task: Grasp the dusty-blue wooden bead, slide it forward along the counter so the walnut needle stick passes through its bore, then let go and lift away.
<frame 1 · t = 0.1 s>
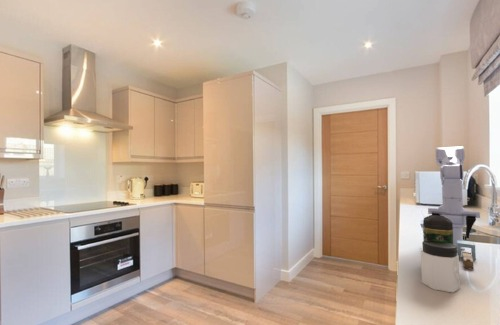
hand: (453, 235, 92), 10 cm above the worktop, tool pointing down, fingers open, 7 cm apart
jar: (440, 286, 75), on the worktop
needle: (467, 263, 92), on the worktop
bead: (466, 256, 100), on the worktop
coffee jar: (439, 274, 84), on the worktop
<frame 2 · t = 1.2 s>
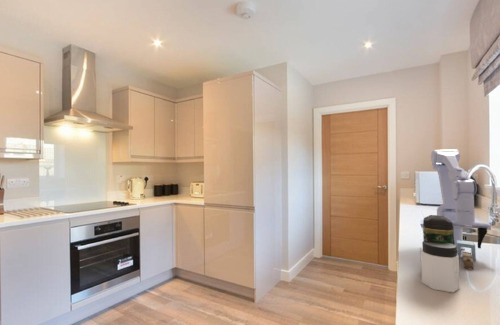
hand: (465, 246, 100), 4 cm above the worktop, tool pointing down, fingers open, 7 cm apart
nothing on the worktop moved.
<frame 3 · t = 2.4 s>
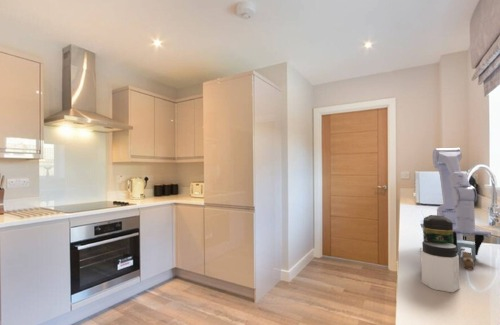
hand: (466, 253, 100), 1 cm above the worktop, tool pointing down, fingers closed on bead, 5 cm apart
bead: (466, 256, 100), on the worktop, touching gripper
everything else where it was.
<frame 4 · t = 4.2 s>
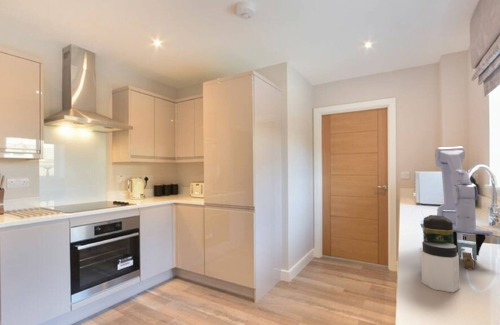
hand: (466, 253, 96), 2 cm above the worktop, tool pointing down, fingers closed on bead, 5 cm apart
bead: (466, 257, 96), point 1 cm above the worktop, touching gripper
everything else where it was.
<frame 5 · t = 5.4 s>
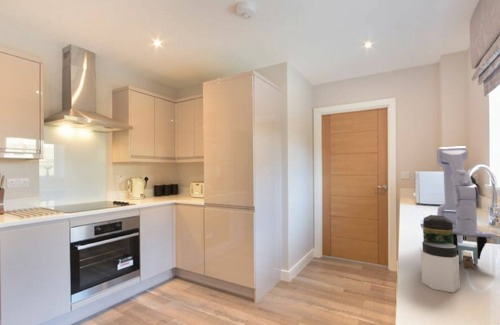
hand: (467, 256, 93), 2 cm above the worktop, tool pointing down, fingers closed on bead, 5 cm apart
bead: (467, 260, 93), point 1 cm above the worktop, touching gripper
everything else where it was.
when the fingers open (2 cm above the worktop, at t = 6.3 s): bead drops 1 cm, resting in needle.
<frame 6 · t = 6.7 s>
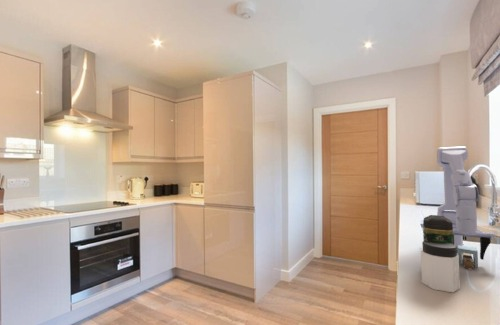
hand: (467, 256, 93), 2 cm above the worktop, tool pointing down, fingers open, 7 cm apart
bead: (467, 263, 93), resting in needle
everything else where it was.
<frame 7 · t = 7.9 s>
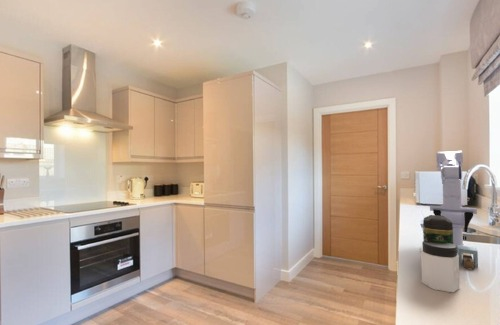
hand: (453, 230, 102), 10 cm above the worktop, tool pointing down, fingers open, 7 cm apart
nothing on the worktop moved.
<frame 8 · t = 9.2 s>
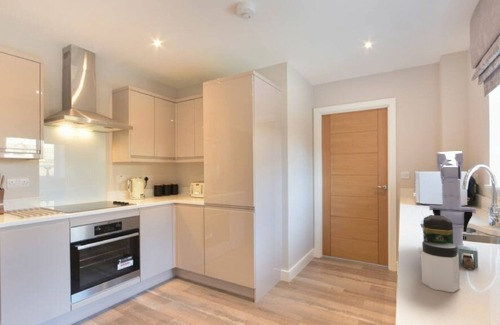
hand: (452, 229, 102), 10 cm above the worktop, tool pointing down, fingers open, 7 cm apart
nothing on the worktop moved.
at the end: bead 0.5 cm off-centre on the needle, point 0.0 cm above the needle's base; bead tilted 0°; the gripper is holding nothing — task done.
